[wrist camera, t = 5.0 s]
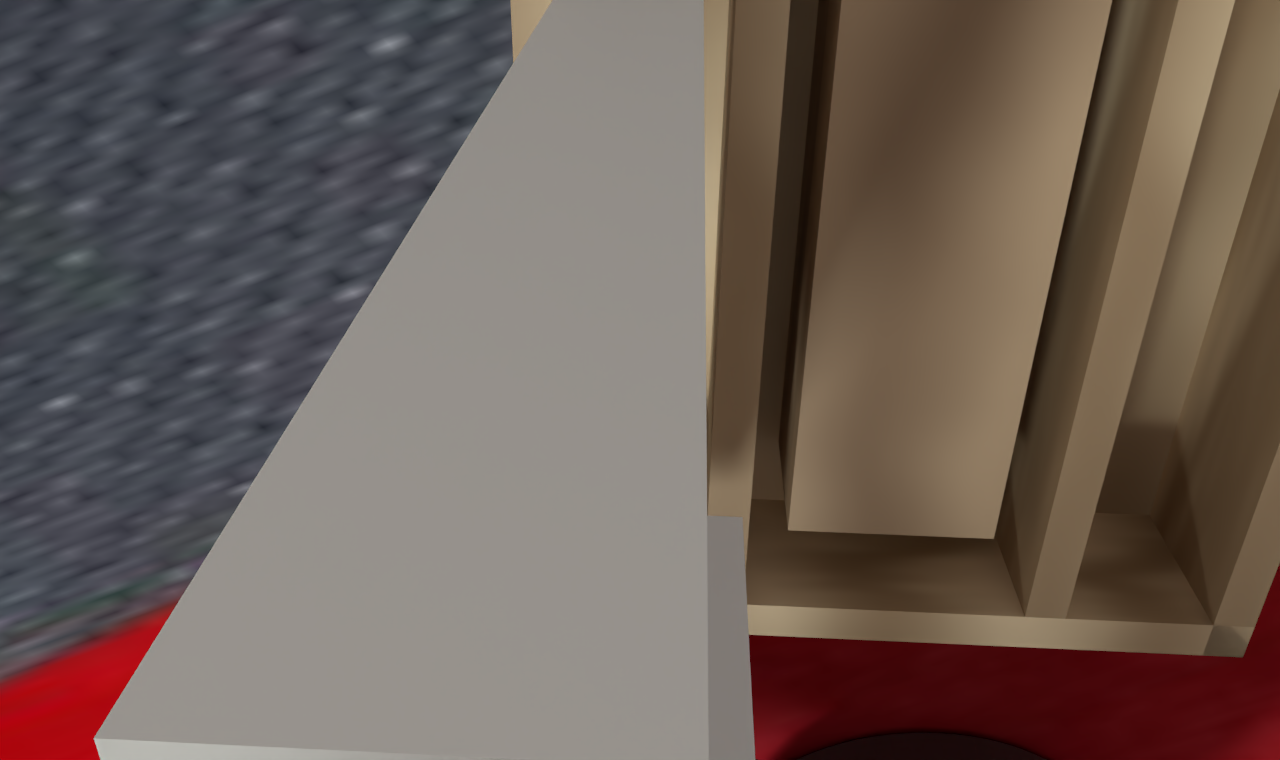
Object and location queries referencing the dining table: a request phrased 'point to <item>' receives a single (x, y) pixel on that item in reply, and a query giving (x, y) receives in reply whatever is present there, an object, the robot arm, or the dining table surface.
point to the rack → (1036, 354)
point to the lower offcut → (803, 222)
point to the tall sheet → (487, 457)
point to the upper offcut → (930, 254)
